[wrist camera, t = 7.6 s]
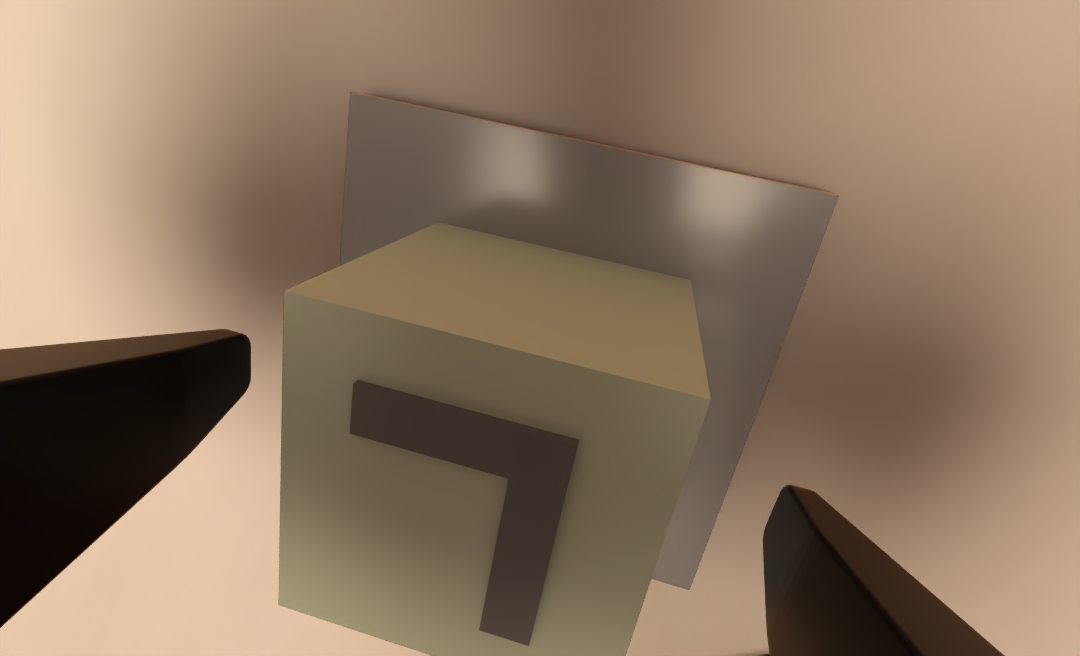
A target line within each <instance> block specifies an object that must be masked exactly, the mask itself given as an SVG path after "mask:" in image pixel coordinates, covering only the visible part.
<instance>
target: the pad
mask: <svg viewBox="0 0 1080 656" xmlns="http://www.w3.org/2000/svg"><path fill="white" fill-rule="evenodd" d="M838 197H839V196H837V195H835V194H833V193H830V192H827V191H822V190H817V189H812V188H808V187H803V186H798V185H793V184H789V183H784V182H779V181H775V180H770V179H765V178H760V177H756V176H751V175H746V174H742V173H737V172H732V171H727V170H723V169H718V168H713V167H709V166H704V165H699V164H694V163H690V162H685V161H680V160H676V159H671V158H666V157H661V156H657V155H652V154H647V153H642V152H638V151H633V150H628V149H624V148H619V147H614V146H609V145H605V144H600V143H595V142H591V141H586V140H581V139H576V138H572V137H567V136H562V135H558V134H553V133H548V132H543V131H539V130H534V129H529V128H525V127H520V126H515V125H510V124H506V123H501V122H496V121H491V120H487V119H482V118H477V117H473V116H468V115H463V114H458V113H454V112H449V111H444V110H440V109H435V108H430V107H425V106H421V105H416V104H411V103H407V102H402V101H397V100H392V99H388V98H383V97H378V96H374V95H369V94H362V93H352V92H350V104H349V121H348V137H347V153H346V170H345V186H344V202H343V219H342V235H341V251H340V266H341V265H343V264H345V263H348V262H350V261H352V260H354V259H357V258H359V257H361V256H364V255H366V254H368V253H370V252H373V251H375V250H377V249H379V248H382V247H384V246H386V245H388V244H391V243H393V242H395V241H398V240H400V239H402V238H404V237H407V236H409V235H411V234H413V233H416V232H418V231H420V230H422V229H425V228H427V227H429V226H431V225H434V224H436V223H438V222H440V223H444V224H449V225H453V226H457V227H462V228H466V229H470V230H475V231H479V232H483V233H488V234H492V235H497V236H501V237H505V238H510V239H514V240H518V241H523V242H527V243H531V244H536V245H540V246H544V247H549V248H553V249H558V250H562V251H566V252H571V253H575V254H579V255H584V256H588V257H592V258H597V259H601V260H605V261H610V262H614V263H618V264H623V265H627V266H632V267H636V268H640V269H645V270H649V271H653V272H658V273H662V274H666V275H671V276H675V277H679V278H684V279H688V280H691V284H692V290H693V296H694V302H695V308H696V314H697V320H698V326H699V332H700V338H701V344H702V350H703V356H704V362H705V368H706V374H707V380H708V385H709V391H710V397H711V400H710V403H709V406H708V409H707V412H706V415H705V418H704V421H703V424H702V427H701V430H700V433H699V436H698V439H697V442H696V445H695V448H694V451H693V454H692V457H691V460H690V463H689V466H688V469H687V472H686V475H685V478H684V481H683V484H682V487H681V490H680V493H679V496H678V499H677V502H676V505H675V508H674V511H673V514H672V517H671V520H670V523H669V526H668V529H667V532H666V535H665V538H664V541H663V544H662V547H661V550H660V553H659V556H658V559H657V562H656V565H655V568H654V571H653V574H652V577H651V579H654V580H658V581H661V582H664V583H667V584H671V585H674V586H677V587H681V588H684V589H687V590H690V587H691V584H692V582H693V579H694V576H695V574H696V571H697V569H698V566H699V563H700V561H701V558H702V555H703V553H704V550H705V547H706V545H707V542H708V539H709V537H710V534H711V532H712V529H713V526H714V524H715V521H716V518H717V516H718V513H719V510H720V508H721V505H722V503H723V500H724V497H725V495H726V492H727V489H728V487H729V484H730V481H731V479H732V476H733V474H734V471H735V468H736V466H737V463H738V460H739V458H740V455H741V452H742V450H743V447H744V445H745V442H746V439H747V437H748V434H749V431H750V429H751V426H752V423H753V421H754V418H755V416H756V413H757V410H758V408H759V405H760V402H761V400H762V397H763V394H764V392H765V389H766V387H767V384H768V381H769V379H770V376H771V373H772V371H773V368H774V365H775V363H776V360H777V358H778V355H779V352H780V350H781V347H782V344H783V342H784V339H785V336H786V334H787V331H788V329H789V326H790V323H791V321H792V318H793V315H794V313H795V310H796V307H797V305H798V302H799V300H800V297H801V294H802V292H803V289H804V286H805V284H806V281H807V278H808V276H809V273H810V271H811V268H812V265H813V263H814V260H815V257H816V255H817V252H818V249H819V247H820V244H821V242H822V239H823V236H824V234H825V231H826V228H827V226H828V223H829V220H830V218H831V215H832V213H833V210H834V207H835V205H836V202H837V199H838Z"/></svg>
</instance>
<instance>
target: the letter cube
mask: <svg viewBox="0 0 1080 656" xmlns="http://www.w3.org/2000/svg"><path fill="white" fill-rule="evenodd" d="M710 400H711V397H710V391H709V385H708V380H707V374H706V368H705V362H704V356H703V350H702V344H701V338H700V332H699V326H698V320H697V314H696V308H695V302H694V296H693V290H692V284H691V280H688V279H684V278H679V277H675V276H671V275H666V274H662V273H658V272H653V271H649V270H645V269H640V268H636V267H632V266H627V265H623V264H618V263H614V262H610V261H605V260H601V259H597V258H592V257H588V256H584V255H579V254H575V253H571V252H566V251H562V250H558V249H553V248H549V247H544V246H540V245H536V244H531V243H527V242H523V241H518V240H514V239H510V238H505V237H501V236H497V235H492V234H488V233H483V232H479V231H475V230H470V229H466V228H462V227H457V226H453V225H449V224H444V223H440V222H438V223H436V224H434V225H431V226H429V227H427V228H425V229H422V230H420V231H418V232H416V233H413V234H411V235H409V236H407V237H404V238H402V239H400V240H398V241H395V242H393V243H391V244H388V245H386V246H384V247H382V248H379V249H377V250H375V251H373V252H370V253H368V254H366V255H364V256H361V257H359V258H357V259H354V260H352V261H350V262H348V263H345V264H343V265H341V266H339V267H336V268H334V269H332V270H330V271H327V272H325V273H323V274H321V275H318V276H316V277H314V278H311V279H309V280H307V281H305V282H302V283H300V284H298V285H296V286H293V287H291V288H289V289H287V290H284V313H283V371H282V429H281V487H280V546H279V604H278V605H280V606H283V607H286V608H289V609H292V610H295V611H298V612H301V613H304V614H307V615H310V616H313V617H316V618H320V619H323V620H326V621H329V622H332V623H335V624H338V625H341V626H344V627H347V628H350V629H353V630H356V631H359V632H362V633H365V634H368V635H371V636H374V637H377V638H380V639H383V640H386V641H389V642H392V643H395V644H398V645H401V646H405V647H408V648H411V649H414V650H417V651H420V652H423V653H426V654H429V655H432V656H626V653H627V650H628V647H629V644H630V641H631V638H632V635H633V632H634V629H635V626H636V623H637V620H638V617H639V614H640V611H641V608H642V605H643V602H644V599H645V596H646V593H647V589H648V586H649V583H650V580H651V577H652V574H653V571H654V568H655V565H656V562H657V559H658V556H659V553H660V550H661V547H662V544H663V541H664V538H665V535H666V532H667V529H668V526H669V523H670V520H671V517H672V514H673V511H674V508H675V505H676V502H677V499H678V496H679V493H680V490H681V487H682V484H683V481H684V478H685V475H686V472H687V469H688V466H689V463H690V460H691V457H692V454H693V451H694V448H695V445H696V442H697V439H698V436H699V433H700V430H701V427H702V424H703V421H704V418H705V415H706V412H707V409H708V406H709V403H710Z"/></svg>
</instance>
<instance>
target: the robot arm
mask: <svg viewBox="0 0 1080 656" xmlns="http://www.w3.org/2000/svg"><path fill="white" fill-rule="evenodd" d="M250 380H251V343H250V340H249V338H248V337H247V336H246V335H244V334H241V333H238V332H234V331H231V330H227V329H218V330H207V331H197V332H186V333H175V334H164V335H153V336H142V337H131V338H120V339H110V340H99V341H88V342H77V343H66V344H55V345H44V346H34V347H23V348H12V349H1V350H0V628H1V627H2V626H3V625H4V624H5V623H6V622H7V621H8V620H10V619H11V618H12V617H13V616H14V615H15V614H16V613H17V612H18V611H19V610H20V609H22V608H23V607H24V606H25V605H26V604H27V603H28V602H29V601H30V600H31V599H32V598H34V597H35V596H36V595H37V594H38V593H39V592H40V591H41V590H42V589H43V588H45V587H46V586H47V585H48V584H49V583H50V582H51V581H52V580H53V579H54V578H55V577H57V576H58V575H59V574H60V573H61V572H62V571H63V570H64V569H65V568H66V567H67V566H69V565H70V564H71V563H72V562H73V561H74V560H75V559H76V558H77V557H78V556H80V555H81V554H82V553H83V552H84V551H85V550H86V549H87V548H88V547H89V546H90V545H92V544H93V543H94V542H95V541H96V540H97V539H98V538H99V537H100V536H101V535H102V534H104V533H105V532H106V531H107V530H108V529H109V528H110V527H111V526H112V525H113V524H115V523H116V522H117V521H118V520H119V519H120V518H121V517H122V516H123V515H124V514H125V513H127V512H128V511H129V510H130V509H131V508H132V507H133V506H134V505H135V504H136V503H137V502H139V501H140V500H141V499H142V498H143V497H144V496H145V495H146V494H147V493H148V492H150V491H151V490H152V489H153V488H154V487H155V486H156V485H157V484H158V483H159V482H160V481H162V480H163V479H164V478H165V477H166V476H167V475H168V474H169V473H170V472H171V471H172V470H174V469H175V468H176V467H177V466H178V465H179V464H180V463H181V462H182V461H183V460H184V459H185V458H186V457H187V456H188V455H189V454H190V453H191V452H192V451H193V450H194V449H195V448H196V447H197V446H198V445H199V443H200V442H201V441H202V440H203V439H204V438H205V437H206V436H207V435H208V433H209V432H210V431H211V430H212V429H213V428H214V427H215V426H216V425H217V423H218V422H219V421H220V420H221V419H222V418H223V417H224V416H225V415H226V413H227V412H228V411H229V410H230V409H231V408H232V407H233V406H234V405H235V403H236V402H237V401H238V400H239V399H240V398H241V397H242V396H243V395H244V393H245V392H246V390H247V389H248V387H249V384H250ZM763 556H764V580H765V605H766V625H767V637H768V644H769V652H770V656H1004V655H1003V654H1002V653H1001V652H1000V651H998V650H997V649H996V648H995V647H994V646H993V645H992V644H990V643H989V642H988V641H987V640H986V639H985V638H983V637H982V636H981V635H980V634H979V633H978V632H976V631H975V630H974V629H973V628H972V627H971V626H970V625H968V624H967V623H966V622H965V621H964V620H963V619H961V618H960V617H959V616H958V615H957V614H956V613H954V612H953V611H952V610H951V609H950V608H949V607H947V606H946V605H945V604H944V603H943V602H942V601H941V600H939V599H938V598H937V597H936V596H935V595H934V594H932V593H931V592H930V591H929V590H928V589H927V588H925V587H924V586H923V585H922V584H921V583H920V582H919V581H917V580H916V579H915V578H914V577H913V576H912V575H910V574H909V573H908V572H907V571H906V570H905V569H903V568H902V567H901V566H900V565H899V564H898V563H897V562H895V561H894V560H893V559H892V558H891V557H890V556H888V555H887V554H886V553H885V552H884V551H883V550H881V549H880V548H879V547H878V546H877V545H876V544H875V543H873V542H872V541H871V540H870V539H869V538H868V537H866V536H865V535H864V534H863V533H862V532H861V531H859V530H858V529H857V528H856V527H855V526H854V525H853V524H851V523H850V522H849V521H848V520H847V519H846V518H844V517H843V516H842V515H841V514H840V513H839V512H837V511H836V510H835V509H834V508H833V507H832V506H831V505H829V504H828V503H827V502H826V501H825V500H824V499H822V498H821V497H820V496H819V495H818V494H817V493H815V492H814V491H811V490H808V489H804V488H801V487H797V486H793V485H786V486H785V487H783V489H782V490H781V492H780V494H779V496H778V498H777V501H776V503H775V505H774V508H773V510H772V512H771V515H770V517H769V520H768V522H767V524H766V527H765V530H764V536H763Z"/></svg>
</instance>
